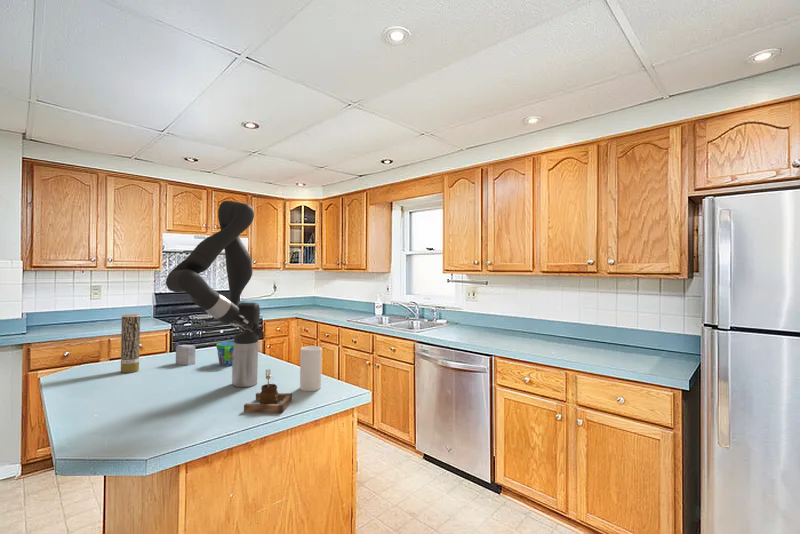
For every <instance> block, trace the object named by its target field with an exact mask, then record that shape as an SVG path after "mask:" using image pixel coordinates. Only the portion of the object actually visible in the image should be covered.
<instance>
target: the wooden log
mask: <svg viewBox="0 0 800 534" xmlns="http://www.w3.org/2000/svg"><path fill="white" fill-rule="evenodd" d="M140 332H141V314H139V313H128V314H121V332H120V333H121V335H120V336H121V337H120V338H121V339H120V343H121V344H120V372H121V373H123V374H126V373H127V374H130V373H135V372H138V371H139V370H140V343H141V342H140V341H141V340H140V339H141V338H140V336H141V333H140Z"/></svg>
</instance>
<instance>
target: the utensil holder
mask: <svg viewBox="0 0 800 534" xmlns="http://www.w3.org/2000/svg"><path fill="white" fill-rule="evenodd" d="M265 379H266V381H265V382H267V383H266V384H263V385H262V386H261V388H260V389H261V391H260V392H259V393H260V401H259V404H279V401H278V393H279V392H278V390H277V389H278V385H277V384H275V383H272V380H274V377H272V376H271V369H270V368H269V369H265Z"/></svg>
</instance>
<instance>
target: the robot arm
mask: <svg viewBox="0 0 800 534" xmlns="http://www.w3.org/2000/svg"><path fill="white" fill-rule="evenodd" d="M217 218H218V223H219V228H220V229H219V231H216V232H215V233H213V234H212V235H210V236H208V237H206V238H204V239H203V240H202V241H201V242H199V243H198V244H197V245H196V246H195V248H194V249H192V251H191V253H190V254H189V255H188V257H186V258H185V259H183V260H182V261H181V262H180V263H179V264H178V265H176V266H175V267H174V268H173V269H172V270H171V271H170V272H169V273H168V275H167V276H166V278H165V285H166V288H167V289H168V290H169V291H170V292H173V293H186V294H188V295H190V296H191V301H192V302H193V304H195V305H196V306H198V307H199V308H201V309H202V310H203V311H205V312H206V313H207V314H208V315H210V316H211V317H212V318H214V319H215V320H217V321H218V322H220V323H221V324H222V325H229V324H230V326H233V327H235V328H237V329H240V331H242V332H240V333H237V334H235V335H234V337H233V342H234V360H233V362H232V365H231V367H232V369H231V370H232V371H231V372H232V373H231V374H232V375H231V383H232V386H234V387H237V388H248V387H249V388H250V387H253V386H256V385H257V384H258V375H259V374H258V373H259V372H258V370H259V369H258V368H259V365H258V363H259V337H261V336H262V334H263V330H261V329H260V316H261V315H260V314H261V308H260V305H259V303H257V302H244V301H243V302H241V300H240V299H241V298H240V297H241V295H242V293H243V291H244V289H245V288H246V286H247V285H248V283H249V282H250V280H251V278H252V276H253V262H252V256H251V255H250V253H249V251H248V249H247V248H246V246H245V245H244V243H243V242H242V240H241V238H240V236H241V234H243V233H244V232H245V231H246V230H247V229H248V228H249V227H250V226H251V224H252V223H253V221H254V219H255V211H254V208H253V207H252V206H251V205H249V204H248V203H244V202H238V201H233V200H223V201H222V202H221V203H220V205H219V206H218V210H217ZM223 251H224V256H225V269H226V275H227V281H228V291H229V299H228V298H227V297H226V296H224V295H222V294H220V293H219V292H218V291H216V290H215V289H214V288H212V287H211V286H209V284H208V283H207V281H205V280H204V278H203V276H201V275H200V274H201V273H203V272H205V271H207V270H208V269H209V268H210V267H211V265H212V264H213V262H214V261H215V260H216V259H217V257H218V256H219V255H220V254H221V253H222V252H223Z"/></svg>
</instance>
